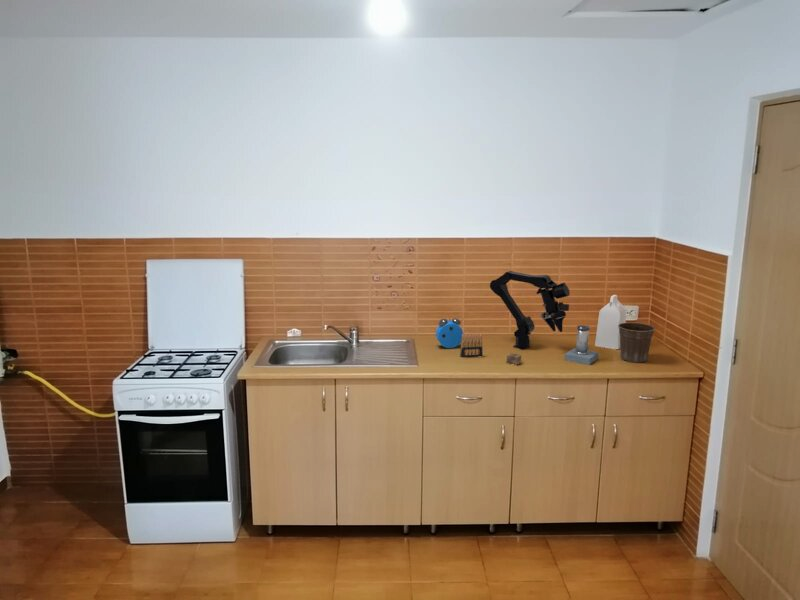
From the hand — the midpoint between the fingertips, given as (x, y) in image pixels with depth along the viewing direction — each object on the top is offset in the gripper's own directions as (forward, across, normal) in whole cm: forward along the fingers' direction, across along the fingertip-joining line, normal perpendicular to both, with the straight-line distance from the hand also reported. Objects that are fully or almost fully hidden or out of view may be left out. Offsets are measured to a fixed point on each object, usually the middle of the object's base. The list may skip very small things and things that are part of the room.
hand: (557, 331), depth 293 cm
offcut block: (+7, -8, +27) cm, 30 cm away
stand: (+15, -6, -6) cm, 17 cm away
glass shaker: (+12, -6, -6) cm, 15 cm away
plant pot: (+22, -8, -29) cm, 38 cm away
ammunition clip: (0, +3, +44) cm, 44 cm away
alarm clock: (-6, +18, +51) cm, 54 cm away
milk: (+17, +15, -29) cm, 37 cm away
